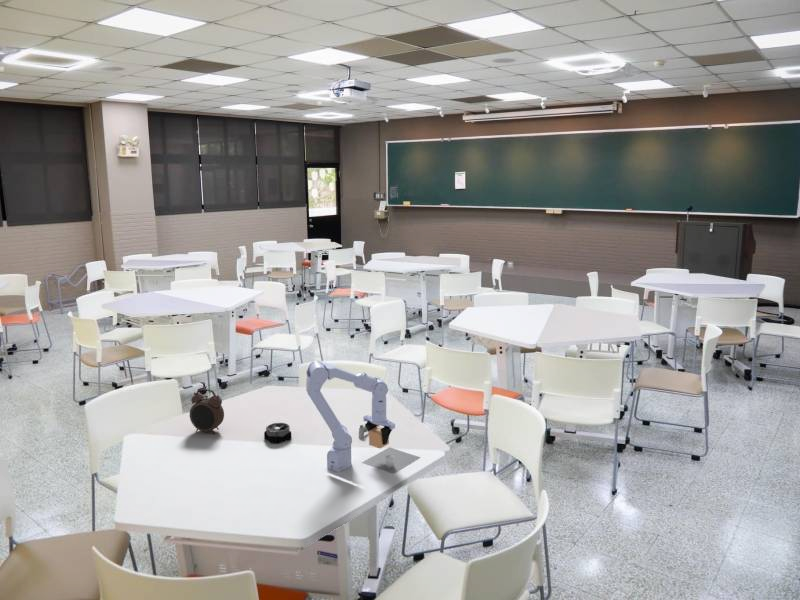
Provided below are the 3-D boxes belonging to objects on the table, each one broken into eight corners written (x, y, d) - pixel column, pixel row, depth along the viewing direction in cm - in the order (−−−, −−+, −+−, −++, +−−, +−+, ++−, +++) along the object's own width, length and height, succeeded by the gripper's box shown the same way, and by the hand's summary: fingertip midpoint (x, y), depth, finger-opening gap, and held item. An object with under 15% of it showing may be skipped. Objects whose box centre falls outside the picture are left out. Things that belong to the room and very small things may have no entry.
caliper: (361, 440, 266) (360, 426, 265) (358, 440, 267) (358, 426, 265) (380, 423, 285) (380, 410, 284) (378, 423, 286) (378, 410, 284)
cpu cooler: (281, 420, 273) (294, 427, 266) (281, 432, 274) (294, 439, 267) (261, 426, 266) (273, 433, 259) (261, 438, 267) (273, 446, 260)
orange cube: (380, 448, 240) (380, 434, 239) (369, 444, 243) (369, 430, 242) (388, 443, 244) (388, 429, 243) (377, 440, 247) (377, 426, 246)
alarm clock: (188, 433, 272) (185, 390, 268) (197, 427, 279) (195, 385, 275) (218, 436, 269) (215, 393, 265) (226, 430, 276) (224, 388, 272)
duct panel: (393, 476, 233) (393, 464, 232) (361, 464, 243) (361, 453, 242) (420, 459, 247) (420, 448, 246) (389, 449, 257) (389, 438, 256)
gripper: (399, 410, 240) (399, 443, 242) (371, 402, 248) (371, 434, 251) (388, 415, 234) (388, 449, 237) (359, 407, 243) (360, 439, 245)
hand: (378, 441), depth 243 cm, fingers closed on orange cube, 6 cm apart
